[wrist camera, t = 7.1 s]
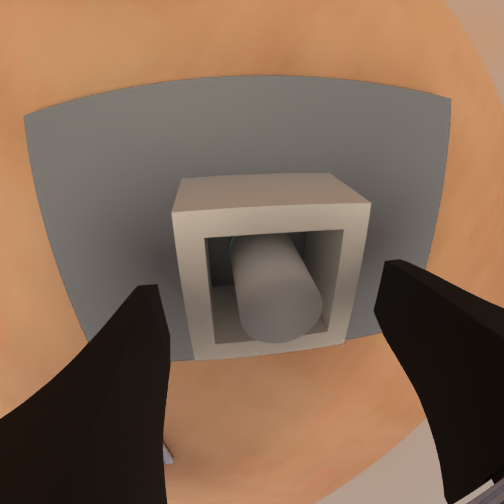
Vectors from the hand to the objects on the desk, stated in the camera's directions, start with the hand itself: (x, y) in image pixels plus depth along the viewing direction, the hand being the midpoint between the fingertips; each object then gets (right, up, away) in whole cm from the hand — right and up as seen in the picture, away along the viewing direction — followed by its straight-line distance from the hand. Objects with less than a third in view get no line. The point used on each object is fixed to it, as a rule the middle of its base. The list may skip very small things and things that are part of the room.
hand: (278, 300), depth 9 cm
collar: (0, +2, +3) cm, 4 cm away
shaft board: (-1, +2, +4) cm, 5 cm away
